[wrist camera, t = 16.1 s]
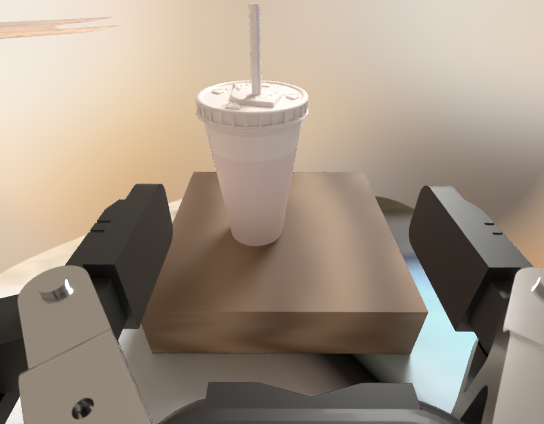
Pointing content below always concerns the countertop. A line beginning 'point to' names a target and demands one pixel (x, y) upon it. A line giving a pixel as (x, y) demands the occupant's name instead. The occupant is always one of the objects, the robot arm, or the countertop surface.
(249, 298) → the plinth
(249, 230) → the smoothie
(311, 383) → the countertop surface
